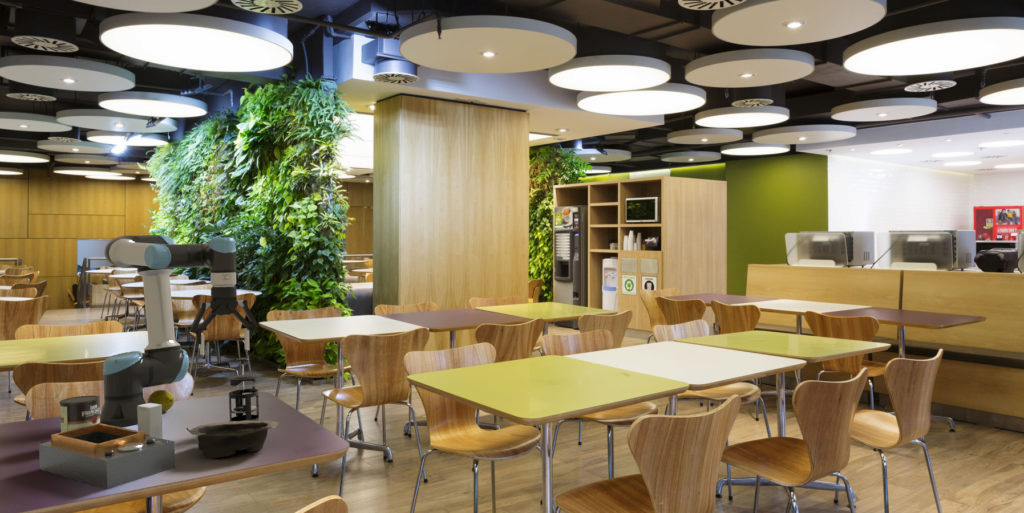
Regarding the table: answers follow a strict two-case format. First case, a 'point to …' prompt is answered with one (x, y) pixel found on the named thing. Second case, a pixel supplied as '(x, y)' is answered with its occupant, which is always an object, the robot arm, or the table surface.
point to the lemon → (162, 399)
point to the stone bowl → (231, 437)
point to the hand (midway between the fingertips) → (225, 352)
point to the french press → (239, 398)
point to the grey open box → (106, 455)
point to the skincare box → (150, 419)
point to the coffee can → (79, 412)
